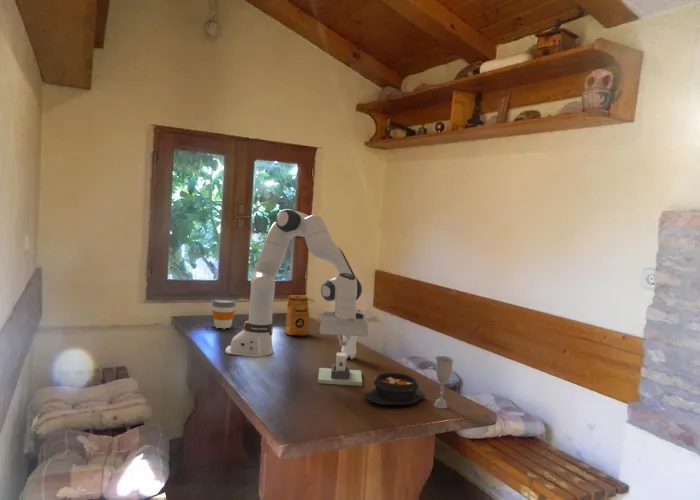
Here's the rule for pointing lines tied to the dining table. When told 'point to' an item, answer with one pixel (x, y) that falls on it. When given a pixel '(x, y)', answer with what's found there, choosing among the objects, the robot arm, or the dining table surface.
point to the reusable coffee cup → (223, 312)
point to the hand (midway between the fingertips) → (343, 345)
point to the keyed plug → (341, 361)
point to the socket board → (340, 376)
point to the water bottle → (349, 347)
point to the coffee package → (297, 315)
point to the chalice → (443, 377)
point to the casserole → (395, 390)
